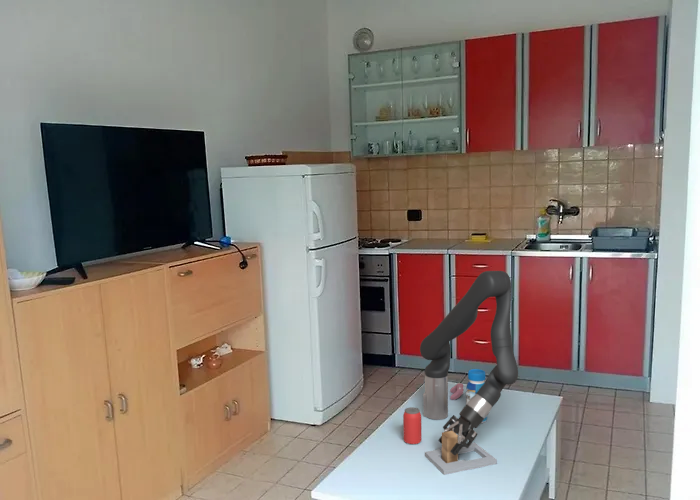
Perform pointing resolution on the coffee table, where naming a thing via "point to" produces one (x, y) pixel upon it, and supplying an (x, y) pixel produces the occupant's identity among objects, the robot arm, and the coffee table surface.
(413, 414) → the beer can
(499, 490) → the coffee table surface
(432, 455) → the keyhole plate
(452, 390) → the video game controller
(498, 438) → the coffee table surface
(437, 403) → the robot arm
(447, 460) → the tan peg
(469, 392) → the beverage bottle
